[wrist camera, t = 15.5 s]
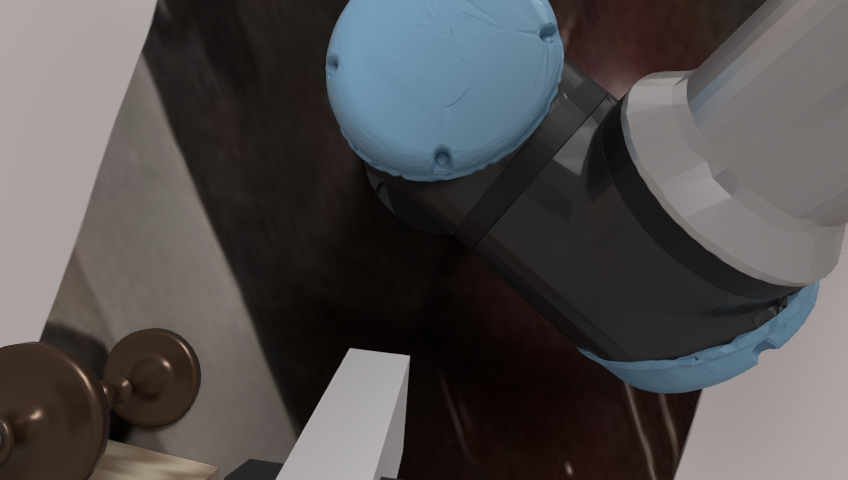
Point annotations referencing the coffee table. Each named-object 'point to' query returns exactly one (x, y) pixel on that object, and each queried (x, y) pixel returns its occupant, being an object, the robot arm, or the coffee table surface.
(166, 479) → the box
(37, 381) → the candlestick
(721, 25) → the coffee table surface
